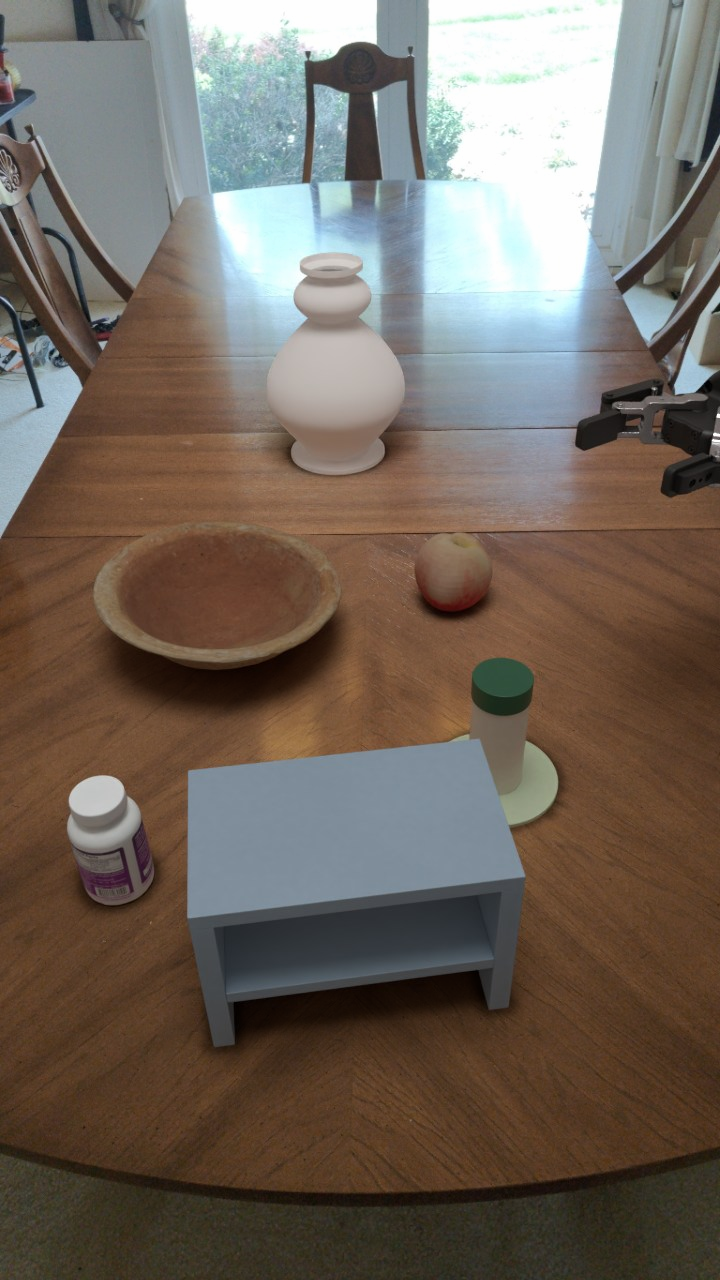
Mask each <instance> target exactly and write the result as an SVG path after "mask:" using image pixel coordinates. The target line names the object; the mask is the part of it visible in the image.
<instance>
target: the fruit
mask: <svg viewBox="0 0 720 1280" xmlns="http://www.w3.org/2000/svg"><path fill="white" fill-rule="evenodd" d="M414 562H415V563H414V577H415V582H416V584H417V588H418V589H419V592H420V593H421V595H422V597H424V599H425V600H426V601H427V602H428V603H429V604H430V605H431V606H432V607H434V608H435V609H437V610H439V611H443V612H448V613H449V612H451V613H452V612H460V611H463V610H466V609H469V608H470V607H473V606H474V605H476V604H477V603H478V602H479V601H480V600H482V598H484V597H485V595H486V593H487V592H488V590H489V588H490V586H491V584H492V580H493V579H492V578H493V564H492V560H491V558H490V556H489V554H488V552H487V551H486V550H485V548H484V546H483V544H482V543H481V542H480V541H479V540H478V539H477V538H476V537H475V536H473V535H471V534H469V533H467V532H462V531H458V532H454V533H451V534H449V533H446V532H444V533H442V532H441V533H438V534H436V535H433V536H432V537H430V538H429V539H428V540H427V541H426V542H424V544H423V545H422V547H421V548H420V549H419V551H418V553H417V555H416V558H415V561H414Z"/></svg>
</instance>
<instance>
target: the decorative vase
mask: <svg viewBox="0 0 720 1280" xmlns="http://www.w3.org/2000/svg"><path fill="white" fill-rule="evenodd" d="M363 268H364V262H363V259H362V257H360V256H358V255H355V254H353V253H348V252H335V251H334V252H320V253H315V254H311V255H307V256H305V257H303V258H301V259H300V260H299V271H300V272H301V273H302V274H303V275H305V277H304V278H303V279H302V280H301V281H299V283H298V284H297V285H296V287H295V289H294V291H293V296H292V297H293V299H292V300H293V303H294V306H295V307H296V309H297V310H298V311H299V312H300V313H301V315H303V316H304V317H306V319H305V320H304V321H303V322H302V323H301V324H300V326H298V327H297V328H296V330H295V331H294V332H293V333H292V334H291V335H290V336H289V338H287V340H286V341H285V342H284V343H283V345H282V346H281V347H280V349H279V350H278V352H277V354H276V356H275V357H274V359H273V361H272V363H271V365H270V367H269V370H268V374H267V378H266V385H265V387H266V389H265V393H266V400H267V404H268V407H269V409H270V411H271V413H272V415H273V416H274V418H275V419H276V421H278V423H279V424H280V425H281V426H282V427H283V428H284V429H285V430H286V431H287V433H288V434H289V435H291V436H292V437H293V438H294V439H295V442H293V444H292V446H291V449H290V456H291V459H292V461H293V463H294V464H295V465H297V466H298V467H300V468H301V469H303V470H306V471H308V472H310V473H315V474H319V475H325V476H326V475H327V476H343V475H352V474H356V473H357V474H358V473H361V472H364V471H367V470H370V469H371V468H373V467H375V466H377V465H378V464H380V462H381V461H382V460H383V459H384V457H385V453H386V450H385V449H386V448H385V444H384V442H383V441H382V440H381V438H380V437H381V435H382V434H383V433H384V432H385V431H386V430H387V428H388V427H389V426H390V425H391V424H392V423H393V421H395V419H396V417H397V416H398V414H399V413H400V412H401V409H402V407H403V403H404V401H405V397H406V383H405V382H406V381H405V377H404V372H403V369H402V366H401V364H400V362H399V360H398V359H397V357H396V355H395V354H394V352H393V351H392V349H391V348H390V346H388V344H387V343H386V342H385V340H384V339H383V338H382V337H381V336H380V335H379V334H378V333H377V332H376V331H375V330H374V329H373V328H372V327H371V326H370V325H368V323H366V322H365V321H364V320H363V318H361V317H360V316H361V315H362V314H363V313H364V312H366V310H367V309H368V308H369V306H370V304H371V301H372V290H371V288H370V287H369V285H368V283H367V281H365V280H364V279H363V278H362V277H361V276H359V275H358V274H359V273H361V272H362V271H363Z"/></svg>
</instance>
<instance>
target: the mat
mask: <svg viewBox="0 0 720 1280" xmlns="http://www.w3.org/2000/svg"><path fill="white" fill-rule="evenodd" d="M469 734H470V733H467V734H464V735H463V734H462V735H459V736H457V737H455V738H453V739H451V740H449V741H448V742H453V741H463V740H469ZM558 790H559V776H558V772H557V769H556V767H555V766H554V764H553V762H552V760H551V759H550V757H549V756H548V755H547V754H546V753H545V752H544V751H543V750H541V749H540V748H539V747H538V746H537V745H535V744H533V743H532V742H530V741H528V740H526V742H525V751H524V759H523V768H522V776H521V782H520V784H519V786H518V787H517V788H516V789H515V790H514V791H512V792H510V793H507V794H504V795H499V798H500V801H501V804H502V807H503V810H504V813H505V816H506V819H507V822H508V825H509V828H510V829H512V828H517V827H521V826H525V825H528V824H530V823H532V822H534V821H536V820H538V819H539V818H541V817H542V816H543V815H544V814H545V813H547V812H548V811H549V809H551V807H552V806H553V804H554V803H555V800H556V798H557V794H558Z"/></svg>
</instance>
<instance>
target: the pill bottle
mask: <svg viewBox="0 0 720 1280" xmlns="http://www.w3.org/2000/svg"><path fill="white" fill-rule="evenodd" d="M68 806H69V811H70V814H69V816H68V819H67V824H66V833H67V837H68V840H69V843H70V846H71V849H72V852H73V856H74V858H75V861H76V865H77V868H78V871H79V874H80V877H81V880H82V883H83V886H84V889H85V891H86V893H87V894H88V896H89V897H90V898H91V899H92V900H94V901H95V902H97V903H99V904H102V905H104V906H120V905H123V904H128V903H130V902H132V901H135V900H137V899H139V898H140V897H141V896H143V894H145V893H146V892H147V891H148V889H149V887H150V886H151V884H152V883H153V881H154V876H155V867H154V861H153V856H152V853H151V847H150V844H149V841H148V836H147V832H146V828H145V825H144V820H143V817H142V812H141V810H140V807H139V806H138V804H137V803H136V802H135V800H133V798H131V797H130V796H128V795H127V791H126V789H125V786H124V784H123V783H122V781H120V780H119V778H116V777H115V776H111V775H103V774H101V775H94V776H91V777H87V778H86V779H84V780H82V781H80V782H79V783H77V784H76V785H75V786H74V787H73V788H72V790H71V792H70V793H69V796H68Z"/></svg>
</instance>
